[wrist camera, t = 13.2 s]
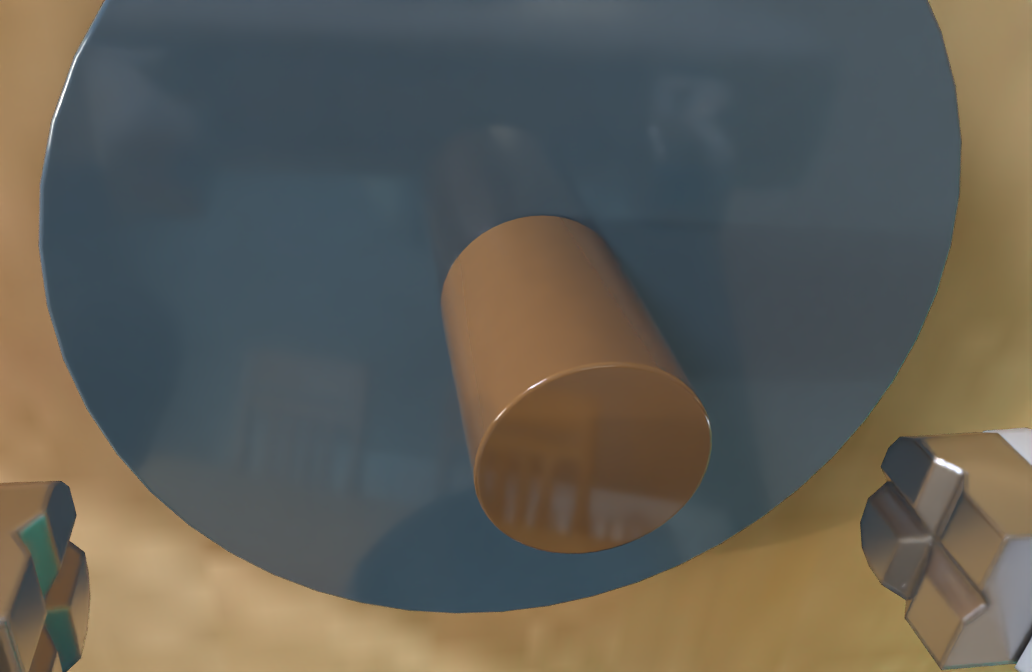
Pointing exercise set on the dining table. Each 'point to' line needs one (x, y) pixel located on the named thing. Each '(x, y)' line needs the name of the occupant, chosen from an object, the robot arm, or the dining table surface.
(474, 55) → the lid
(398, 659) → the dining table surface
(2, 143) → the dining table surface
